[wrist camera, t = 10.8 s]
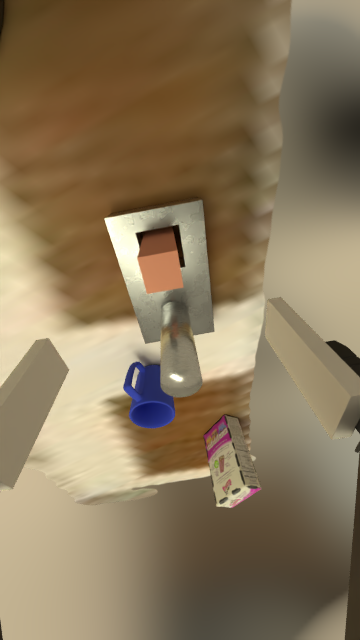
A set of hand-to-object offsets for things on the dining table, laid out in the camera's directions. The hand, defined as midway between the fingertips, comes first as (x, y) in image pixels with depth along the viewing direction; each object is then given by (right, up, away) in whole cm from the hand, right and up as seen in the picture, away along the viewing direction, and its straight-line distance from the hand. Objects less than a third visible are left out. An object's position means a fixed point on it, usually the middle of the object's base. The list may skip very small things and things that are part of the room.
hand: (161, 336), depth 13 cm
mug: (-5, -9, +33) cm, 35 cm away
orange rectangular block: (-2, +12, +19) cm, 23 cm away
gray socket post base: (-1, +8, +22) cm, 23 cm away
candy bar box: (+13, -29, +48) cm, 57 cm away
